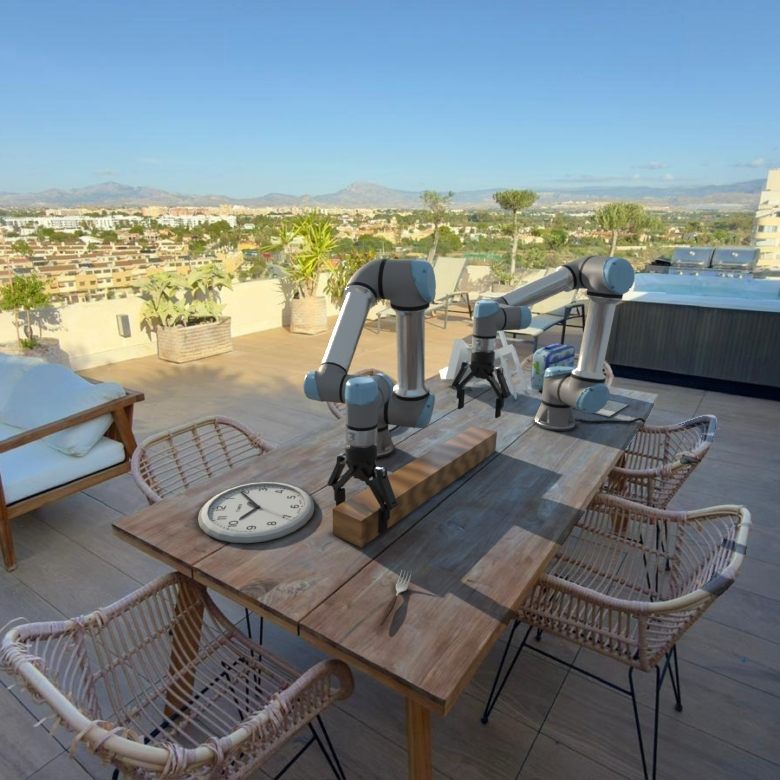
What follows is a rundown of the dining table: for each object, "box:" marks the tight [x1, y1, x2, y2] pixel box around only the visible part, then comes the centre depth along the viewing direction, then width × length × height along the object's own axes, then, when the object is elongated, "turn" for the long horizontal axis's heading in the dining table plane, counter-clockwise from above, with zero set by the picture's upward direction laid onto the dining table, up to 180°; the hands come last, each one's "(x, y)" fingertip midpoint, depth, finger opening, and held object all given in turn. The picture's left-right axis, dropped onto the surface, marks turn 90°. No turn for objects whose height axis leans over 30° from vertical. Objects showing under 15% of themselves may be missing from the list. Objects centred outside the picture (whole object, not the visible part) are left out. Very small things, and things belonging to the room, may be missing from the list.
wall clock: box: [197, 481, 315, 544], centre depth 139 cm, size 30×2×30 cm
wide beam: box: [332, 425, 498, 548], centre depth 153 cm, size 72×9×7 cm, turn 143°
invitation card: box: [595, 399, 629, 418], centre depth 226 cm, size 21×1×15 cm
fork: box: [379, 570, 413, 627], centre depth 106 cm, size 3×16×2 cm, turn 160°
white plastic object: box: [438, 330, 531, 400], centre depth 245 cm, size 37×45×31 cm
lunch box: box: [530, 343, 576, 391], centre depth 249 cm, size 26×11×21 cm, turn 134°
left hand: (361, 521), depth 130 cm, fingers open, 13 cm apart
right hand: (478, 412), depth 173 cm, fingers open, 13 cm apart
